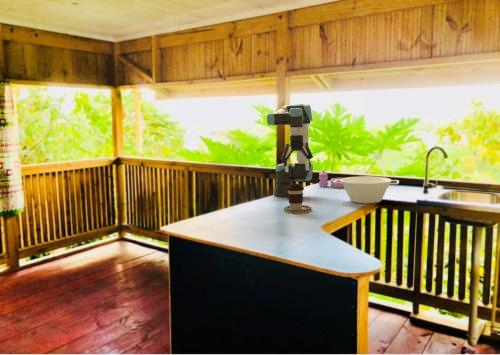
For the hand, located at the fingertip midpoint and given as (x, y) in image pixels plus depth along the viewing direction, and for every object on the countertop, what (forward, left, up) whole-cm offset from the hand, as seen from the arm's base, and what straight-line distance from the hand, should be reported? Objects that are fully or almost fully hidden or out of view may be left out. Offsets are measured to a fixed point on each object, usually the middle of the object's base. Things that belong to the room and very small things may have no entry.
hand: (297, 171), depth 236 cm
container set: (-64, +67, -24) cm, 96 cm away
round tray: (0, 0, -24) cm, 24 cm away
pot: (-3, +51, -24) cm, 56 cm away
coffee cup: (0, -2, -23) cm, 23 cm away
